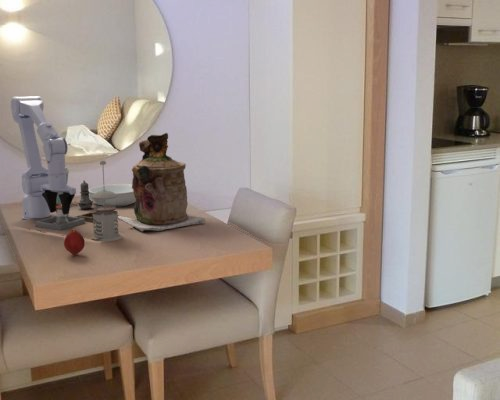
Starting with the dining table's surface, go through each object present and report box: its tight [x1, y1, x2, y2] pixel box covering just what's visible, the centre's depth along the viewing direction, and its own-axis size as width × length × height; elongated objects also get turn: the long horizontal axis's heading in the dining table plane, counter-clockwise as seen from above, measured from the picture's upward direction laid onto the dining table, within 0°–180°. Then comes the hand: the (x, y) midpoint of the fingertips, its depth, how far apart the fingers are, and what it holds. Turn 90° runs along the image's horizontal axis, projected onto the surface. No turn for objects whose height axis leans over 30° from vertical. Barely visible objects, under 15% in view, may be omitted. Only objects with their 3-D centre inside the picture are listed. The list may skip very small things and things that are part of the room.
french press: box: [91, 160, 123, 242], centre depth 196 cm, size 10×12×25 cm
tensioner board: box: [74, 210, 120, 223], centre depth 221 cm, size 13×13×4 cm
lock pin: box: [55, 204, 69, 225], centre depth 210 cm, size 5×5×7 cm
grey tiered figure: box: [77, 180, 94, 210], centre depth 233 cm, size 6×6×12 cm
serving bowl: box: [88, 183, 136, 208], centre depth 244 cm, size 21×21×7 cm
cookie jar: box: [117, 132, 207, 232], centre depth 214 cm, size 25×25×32 cm
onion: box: [63, 228, 86, 256], centre depth 177 cm, size 6×6×8 cm
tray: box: [34, 215, 86, 231], centre depth 210 cm, size 12×12×2 cm
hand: (59, 213), depth 209 cm, fingers open, 5 cm apart
